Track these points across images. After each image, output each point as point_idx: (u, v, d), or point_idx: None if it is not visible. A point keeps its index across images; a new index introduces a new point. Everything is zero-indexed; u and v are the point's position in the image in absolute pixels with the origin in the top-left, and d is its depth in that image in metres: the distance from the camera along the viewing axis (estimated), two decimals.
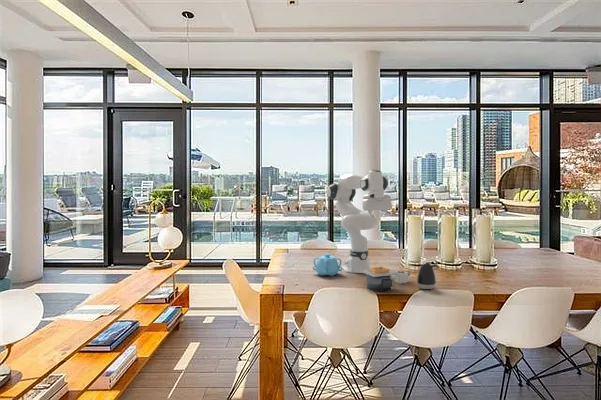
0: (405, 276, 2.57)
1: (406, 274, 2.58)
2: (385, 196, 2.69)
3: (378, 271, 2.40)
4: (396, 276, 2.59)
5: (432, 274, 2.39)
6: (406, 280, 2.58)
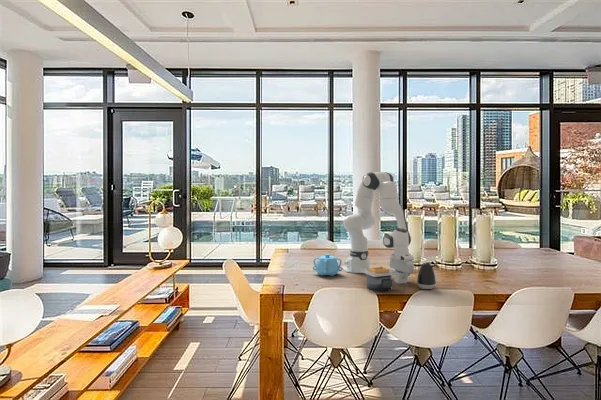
0: None
1: None
2: None
3: (378, 271, 2.40)
4: (396, 276, 2.59)
5: (432, 274, 2.39)
6: (406, 280, 2.58)
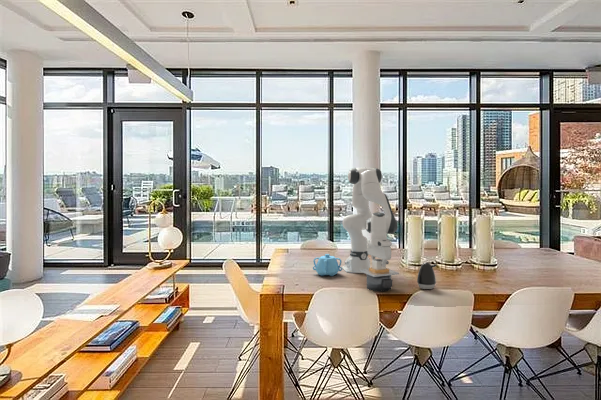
0: None
1: None
2: None
3: (378, 271, 2.40)
4: (373, 264, 2.44)
5: (432, 274, 2.39)
6: None
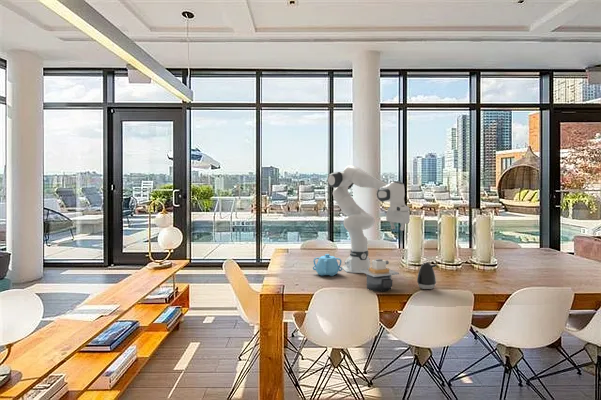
0: (383, 264, 2.43)
1: (384, 262, 2.43)
2: None
3: (378, 271, 2.40)
4: (373, 264, 2.44)
5: (432, 274, 2.39)
6: None
